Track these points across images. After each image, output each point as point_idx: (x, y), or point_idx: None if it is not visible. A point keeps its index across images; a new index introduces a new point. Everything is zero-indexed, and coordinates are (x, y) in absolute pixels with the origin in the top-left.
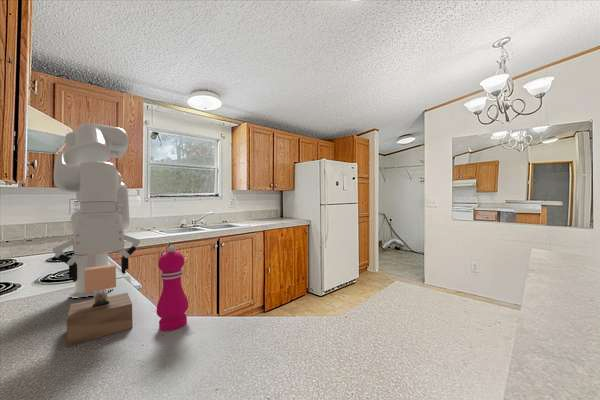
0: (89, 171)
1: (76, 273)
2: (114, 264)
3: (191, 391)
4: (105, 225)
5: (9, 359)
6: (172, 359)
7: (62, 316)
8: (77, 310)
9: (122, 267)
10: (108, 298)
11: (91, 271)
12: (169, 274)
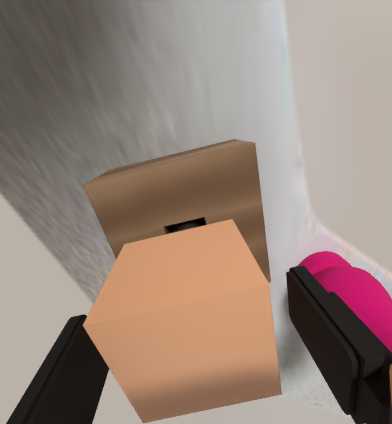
0: None
1: (98, 401)
2: (271, 312)
3: (298, 400)
4: None
5: (71, 271)
6: (295, 359)
7: (15, 13)
8: None
9: (308, 348)
10: (198, 189)
11: (172, 413)
12: None
